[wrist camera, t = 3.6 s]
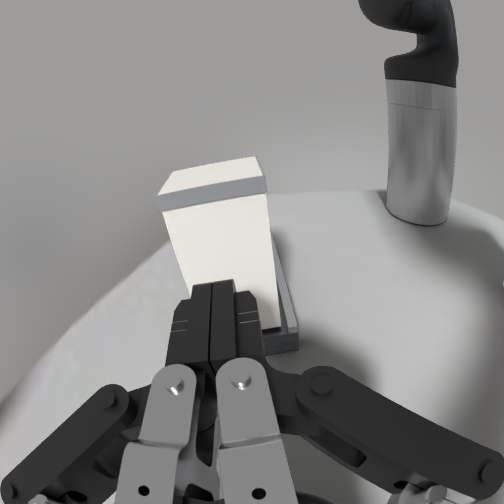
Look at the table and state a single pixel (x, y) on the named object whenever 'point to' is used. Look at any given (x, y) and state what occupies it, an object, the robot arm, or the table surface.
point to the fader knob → (223, 229)
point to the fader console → (281, 316)
